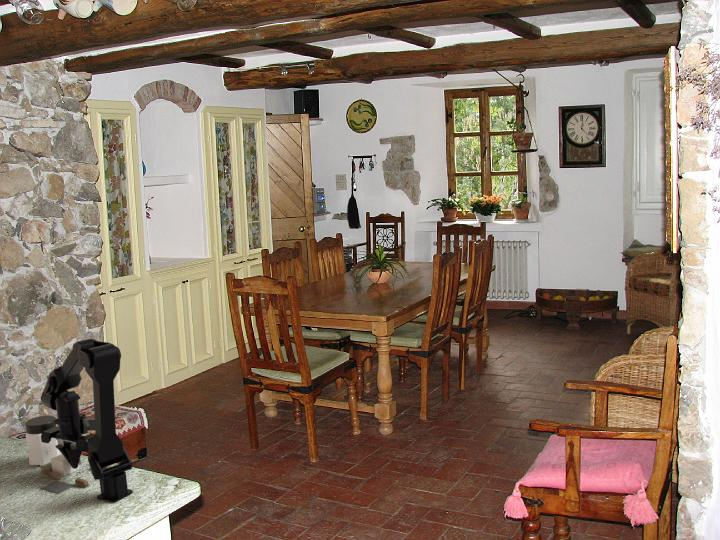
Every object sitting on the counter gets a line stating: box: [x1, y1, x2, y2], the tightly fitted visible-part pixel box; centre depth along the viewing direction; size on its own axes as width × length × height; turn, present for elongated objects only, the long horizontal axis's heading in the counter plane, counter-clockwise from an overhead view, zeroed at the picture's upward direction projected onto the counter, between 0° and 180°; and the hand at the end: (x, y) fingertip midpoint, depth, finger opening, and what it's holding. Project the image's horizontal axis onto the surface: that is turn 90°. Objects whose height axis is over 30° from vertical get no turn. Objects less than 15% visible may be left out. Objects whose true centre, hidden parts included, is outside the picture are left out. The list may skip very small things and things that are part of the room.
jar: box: [24, 415, 62, 467], centre depth 215 cm, size 9×8×12 cm
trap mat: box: [39, 479, 75, 495], centre depth 198 cm, size 7×5×1 cm
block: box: [51, 453, 81, 477], centre depth 207 cm, size 5×5×4 cm
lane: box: [40, 459, 113, 488], centre depth 205 cm, size 18×10×2 cm, turn 60°
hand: (75, 468), depth 205 cm, fingers closed
